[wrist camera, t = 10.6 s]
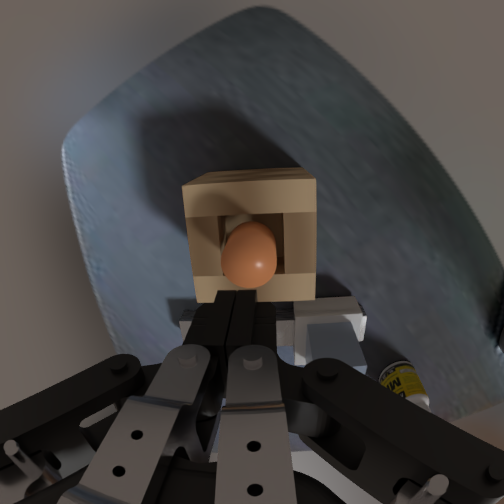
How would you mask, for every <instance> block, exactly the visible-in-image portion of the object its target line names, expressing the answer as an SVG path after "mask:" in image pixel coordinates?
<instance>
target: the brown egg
mask: <svg viewBox="0 0 504 504" xmlns="http://www.w3.org/2000/svg"><path fill="white" fill-rule="evenodd" d="M276 266H277V256H276V240H275V237H274V234H273V233H272V231H271V230H270V229H269V228H268V227H267V226H265V225H264V224H262V223H259V222H254V221H249V222H244V223H241V224H240V225H238V226H237V227H235V228H234V229H233V231H232V232H231V234H230V236H229V238H228V241H227V243H226V245H225V248H224V250H223V252H222V255H221V268H222V271H223V273H224V275H225V276H226V277H227V279H228V280H229V281H231V282H232V283H233V284H235V285H237V286H240V287H243V288H256V287H259V286H262V285H264V284H265V283H267V282H268V281H269V280H270V279H271V278H272V276H273V275H274V273H275V270H276Z"/></svg>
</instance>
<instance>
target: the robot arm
mask: <svg viewBox="0 0 504 504" xmlns="http://www.w3.org/2000/svg"><path fill="white" fill-rule="evenodd" d="M193 318H194V319H193V320H192V322H191V326H190V327H189V330H188V332H187V334H186V337H185V339H184V342H183V344H182V346H179V347H176V348H174V349H173V350H171V351H170V352H169V353H168V354H167V356H166V358H165V359H164V361H163V363H160V364H154V365H147V366H141V364H140V361H139V359H138V358H137V357H135V356H133V355H130V354H119V355H115V356H112V357H110V358H108V359H106V360H104V361H102V362H100V363H98V364H96V365H94V366H92V367H90V368H88V369H86V370H84V371H82V372H80V373H78V374H76V375H74V376H72V377H70V378H68V379H65V380H64V381H61V382H60V383H57V384H55V385H53V386H51V387H49V388H47V389H45V390H43V391H41V392H39V393H36V394H34V395H33V396H30V397H28V398H26V399H24V400H22V401H20V402H17V403H15V404H13V405H11V406H9V407H7V408H4V409H2V410H0V504H346V503H345V502H344V501H343V500H341V499H340V498H339V497H338V496H337V495H336V494H334V493H333V492H332V491H331V490H330V489H329V488H328V487H326V486H325V485H324V484H322V483H321V482H319V481H318V480H316V479H314V478H312V477H310V476H308V475H306V474H303V473H300V472H297V471H294V470H293V467H292V460H291V451H290V443H289V435H288V432H292V433H296V434H298V435H299V437H300V439H301V440H302V441H303V442H304V443H305V444H306V445H307V446H308V447H310V448H311V449H312V450H313V451H314V452H316V453H317V454H318V455H319V456H320V457H322V458H323V459H324V460H325V461H326V462H328V463H329V464H330V465H331V466H333V467H334V468H335V469H336V470H338V471H339V472H340V473H342V474H343V475H344V476H345V477H347V478H348V479H350V480H351V481H352V482H353V483H355V484H356V485H357V486H359V487H360V488H362V489H363V490H364V491H366V492H367V493H369V494H370V495H371V496H373V497H374V498H376V499H377V500H378V501H380V502H381V503H383V504H495V503H497V502H498V501H499V500H500V499H501V498H503V497H504V451H502V450H501V449H498V448H496V447H494V446H492V445H490V444H488V443H487V442H484V441H483V440H481V439H479V438H477V437H475V436H473V435H471V434H469V433H467V432H465V431H463V430H461V429H459V428H458V427H456V426H454V425H452V424H450V423H448V422H447V421H445V420H443V419H441V418H439V417H437V416H436V415H434V414H432V413H430V412H428V411H427V410H425V409H423V408H421V407H419V406H418V405H416V404H414V403H412V402H411V401H409V400H407V399H405V398H404V397H402V396H400V395H398V394H397V393H395V392H393V391H392V390H390V389H388V388H386V387H385V386H383V385H381V384H380V383H378V382H376V381H374V380H373V379H371V378H369V377H368V376H366V375H364V374H363V373H361V372H359V371H358V370H356V369H354V368H353V367H351V366H350V365H348V364H346V363H345V362H343V361H341V360H338V359H334V358H319V359H315V360H313V361H311V362H309V363H308V364H307V365H306V366H305V367H304V368H302V367H297V366H293V365H290V364H288V363H286V362H284V361H283V360H282V359H281V358H280V357H279V356H278V354H277V330H276V308H275V307H274V305H273V304H272V303H271V302H258V298H257V289H251V290H238V291H237V290H218V291H217V294H216V297H215V300H214V303H204V304H203V305H201V306H200V307H199V308H198V309H197V310H196V312H195V315H194V317H193ZM499 346H500V349H501V350H502V352H503V353H504V327H503V330H502V332H501V336H500V341H499ZM223 398H226V405H225V406H223V407H222V409H221V405H222V400H223ZM111 404H114V406H115V408H116V410H117V412H115V413H113V414H112V415H110V416H108V417H106V418H104V419H102V420H101V421H99V422H97V423H95V424H93V425H91V426H89V427H87V428H82V427H80V426H79V425H80V422H81V421H82V420H83V419H85V418H87V417H89V416H91V415H92V414H95V413H96V412H98V411H100V410H102V409H104V408H106V407H107V406H109V405H111ZM219 423H220V432H219V445H218V461H217V462H210V463H209V460H210V455H211V451H212V448H213V444H214V441H215V437H216V434H217V430H218V427H219Z"/></svg>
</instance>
